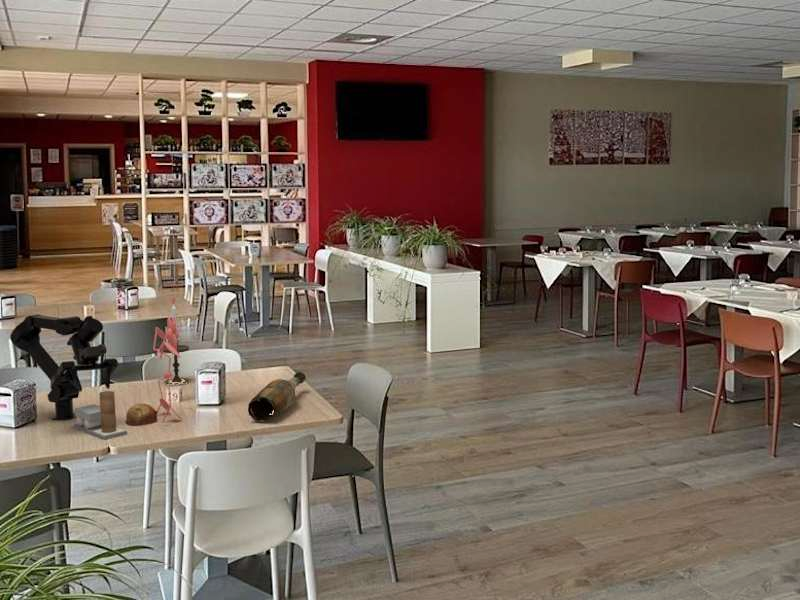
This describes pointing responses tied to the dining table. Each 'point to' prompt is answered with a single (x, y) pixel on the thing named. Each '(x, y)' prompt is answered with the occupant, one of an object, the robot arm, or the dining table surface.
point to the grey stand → (93, 422)
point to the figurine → (172, 346)
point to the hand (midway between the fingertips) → (95, 389)
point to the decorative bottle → (274, 398)
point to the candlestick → (179, 349)
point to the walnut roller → (107, 411)
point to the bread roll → (141, 415)
